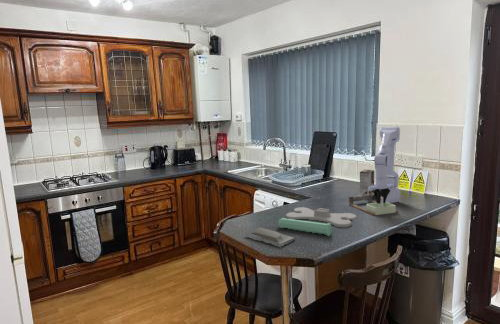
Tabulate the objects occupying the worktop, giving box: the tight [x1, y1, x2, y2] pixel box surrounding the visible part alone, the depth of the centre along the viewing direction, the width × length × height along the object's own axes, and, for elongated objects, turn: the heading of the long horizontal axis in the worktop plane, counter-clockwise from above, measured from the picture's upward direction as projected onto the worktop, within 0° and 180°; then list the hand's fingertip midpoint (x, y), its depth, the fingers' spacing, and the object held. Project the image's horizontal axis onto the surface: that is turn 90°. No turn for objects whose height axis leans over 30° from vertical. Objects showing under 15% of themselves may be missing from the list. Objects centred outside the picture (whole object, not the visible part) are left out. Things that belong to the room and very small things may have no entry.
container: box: [277, 217, 333, 237], centre depth 154 cm, size 6×6×25 cm
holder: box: [285, 206, 358, 228], centre depth 172 cm, size 19×34×5 cm, turn 58°
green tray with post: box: [365, 197, 397, 216], centre depth 175 cm, size 12×8×8 cm, turn 106°
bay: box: [348, 194, 399, 217], centre depth 183 cm, size 15×24×6 cm, turn 16°
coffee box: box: [359, 169, 375, 197], centre depth 210 cm, size 9×6×16 cm
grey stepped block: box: [251, 227, 296, 244], centre depth 146 cm, size 10×20×4 cm, turn 48°
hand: (380, 202), depth 175 cm, fingers closed on green tray with post, 2 cm apart
